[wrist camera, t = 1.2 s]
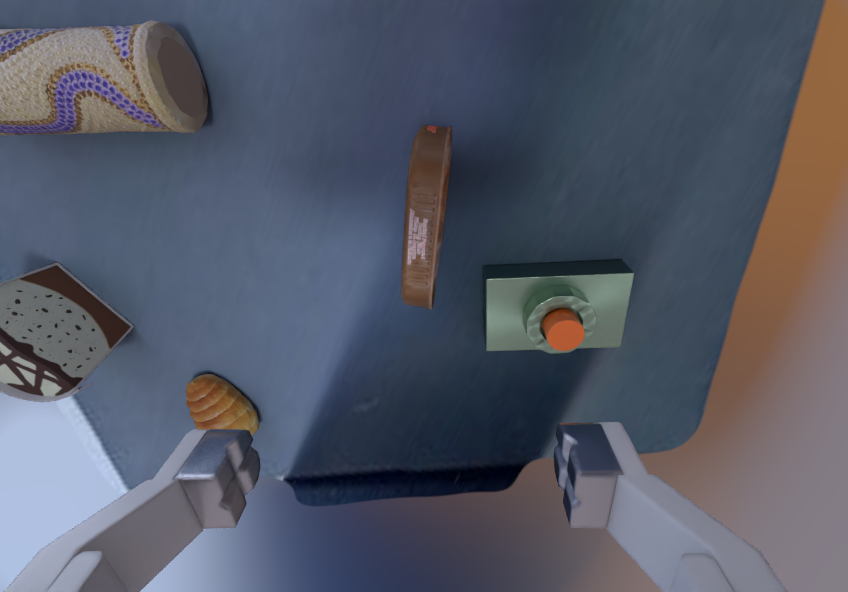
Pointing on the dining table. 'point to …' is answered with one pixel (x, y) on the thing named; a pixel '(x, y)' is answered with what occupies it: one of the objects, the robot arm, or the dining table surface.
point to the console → (555, 302)
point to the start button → (563, 329)
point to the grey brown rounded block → (53, 334)
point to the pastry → (219, 405)
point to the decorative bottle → (99, 81)
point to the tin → (425, 214)
